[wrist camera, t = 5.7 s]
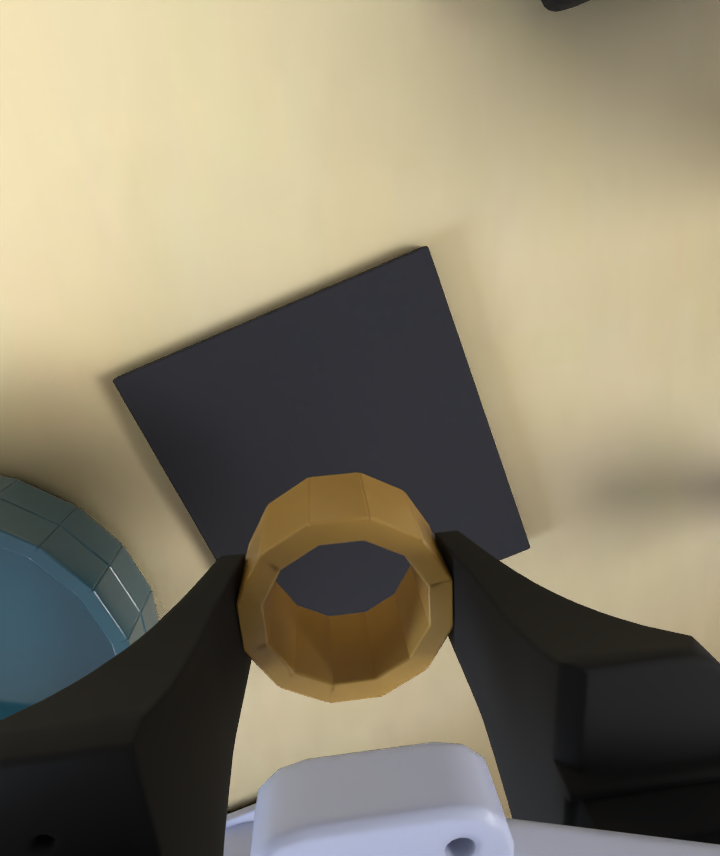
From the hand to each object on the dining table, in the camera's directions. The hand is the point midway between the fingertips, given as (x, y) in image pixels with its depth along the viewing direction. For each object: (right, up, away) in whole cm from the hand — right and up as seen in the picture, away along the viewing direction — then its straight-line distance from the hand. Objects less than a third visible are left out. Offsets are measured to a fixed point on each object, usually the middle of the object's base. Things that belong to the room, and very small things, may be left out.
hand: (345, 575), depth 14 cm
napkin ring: (0, 0, +1) cm, 1 cm away
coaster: (0, +2, +7) cm, 8 cm away
